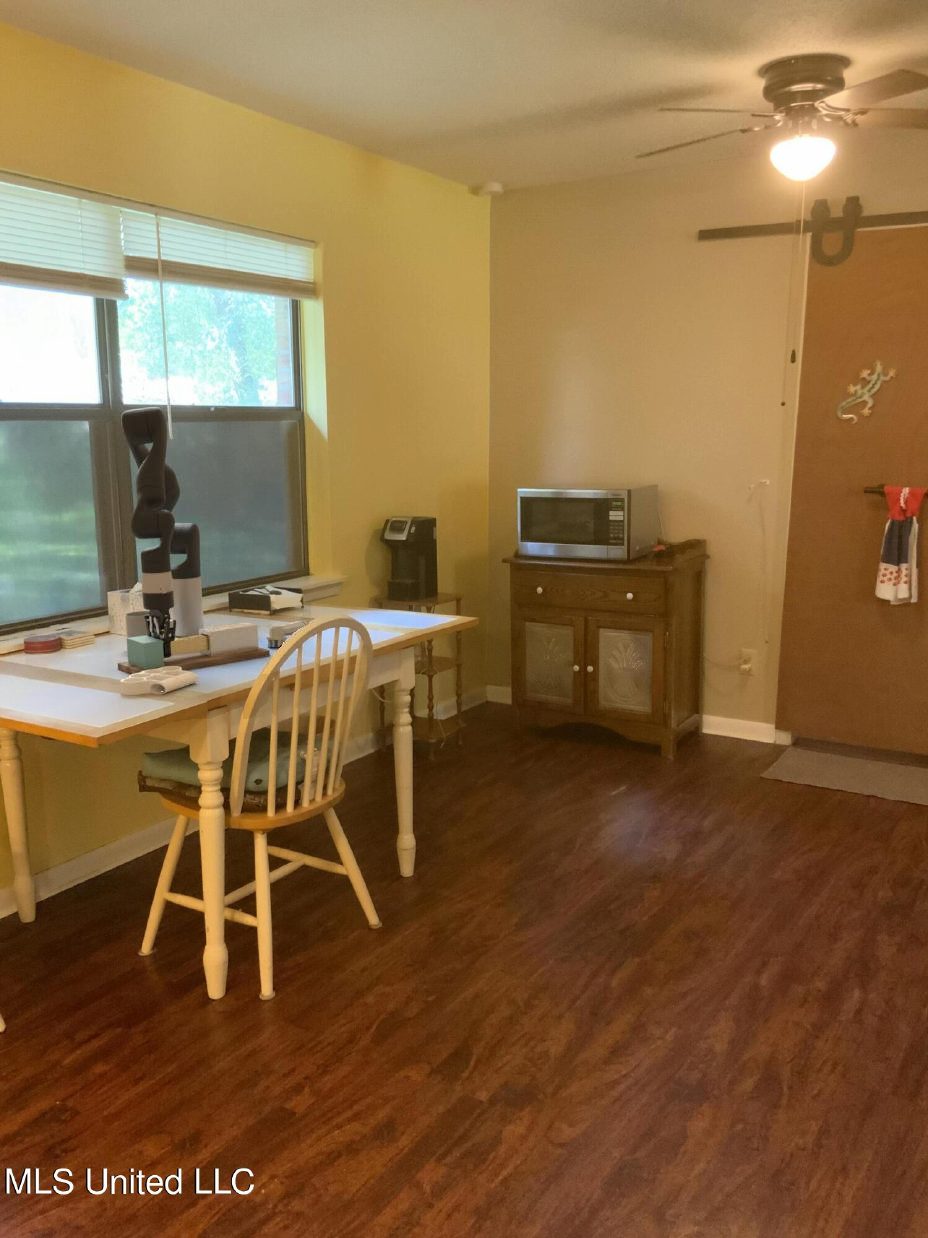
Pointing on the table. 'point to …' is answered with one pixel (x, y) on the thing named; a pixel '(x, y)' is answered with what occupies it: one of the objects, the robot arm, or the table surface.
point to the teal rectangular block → (145, 652)
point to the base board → (199, 660)
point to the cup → (136, 624)
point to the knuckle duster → (157, 681)
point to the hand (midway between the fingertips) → (162, 655)
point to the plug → (189, 644)
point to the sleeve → (230, 638)
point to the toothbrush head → (283, 632)
